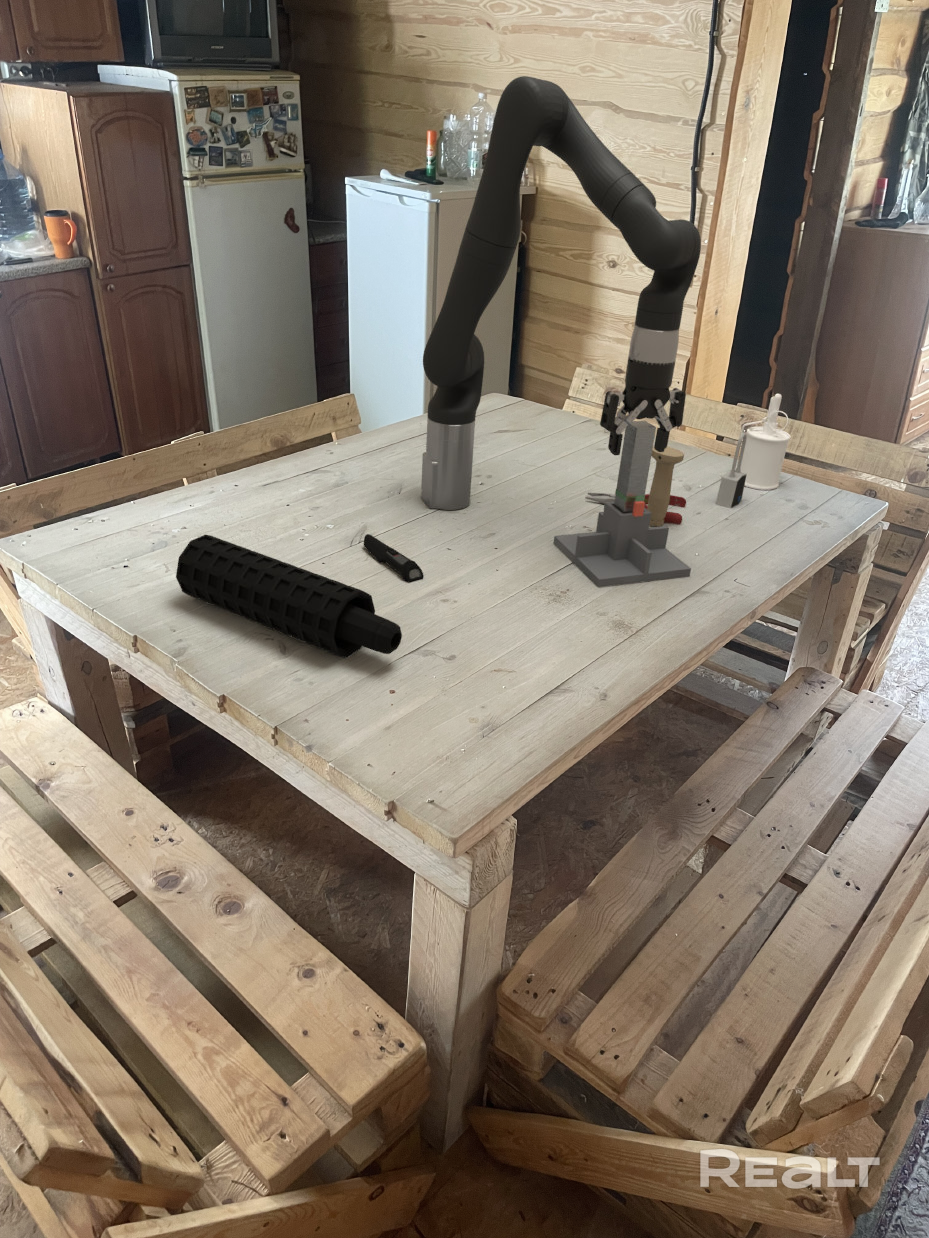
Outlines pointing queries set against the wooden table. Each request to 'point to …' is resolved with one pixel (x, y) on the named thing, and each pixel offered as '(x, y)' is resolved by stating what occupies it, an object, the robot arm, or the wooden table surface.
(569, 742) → the wooden table surface
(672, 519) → the pliers
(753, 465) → the white oil can
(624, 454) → the column
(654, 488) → the handle
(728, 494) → the padlock
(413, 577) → the electric trimmer
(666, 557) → the stand
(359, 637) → the roller
